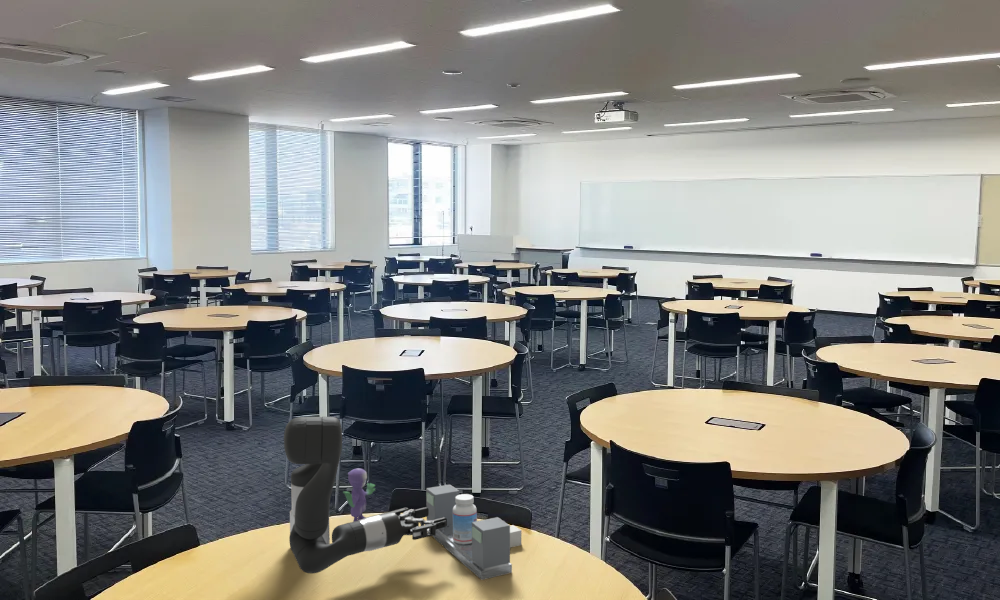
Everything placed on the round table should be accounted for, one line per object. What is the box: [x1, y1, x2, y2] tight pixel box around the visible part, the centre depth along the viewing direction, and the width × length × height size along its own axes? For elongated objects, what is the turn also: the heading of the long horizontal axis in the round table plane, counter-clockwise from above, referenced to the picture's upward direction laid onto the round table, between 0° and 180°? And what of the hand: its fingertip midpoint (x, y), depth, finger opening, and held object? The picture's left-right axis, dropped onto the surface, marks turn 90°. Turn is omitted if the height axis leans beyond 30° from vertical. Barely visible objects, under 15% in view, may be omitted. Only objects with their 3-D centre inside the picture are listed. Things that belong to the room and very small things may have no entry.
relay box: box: [510, 524, 522, 549], centre depth 190 cm, size 6×4×4 cm, turn 121°
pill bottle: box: [453, 493, 478, 544], centre depth 186 cm, size 6×6×11 cm
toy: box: [342, 467, 376, 522], centre depth 206 cm, size 18×6×15 cm, turn 168°
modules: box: [425, 484, 511, 569], centre depth 187 cm, size 7×34×9 cm, turn 28°
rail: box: [424, 524, 513, 580], centre depth 187 cm, size 8×34×2 cm, turn 28°
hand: (436, 516), depth 182 cm, fingers open, 8 cm apart
